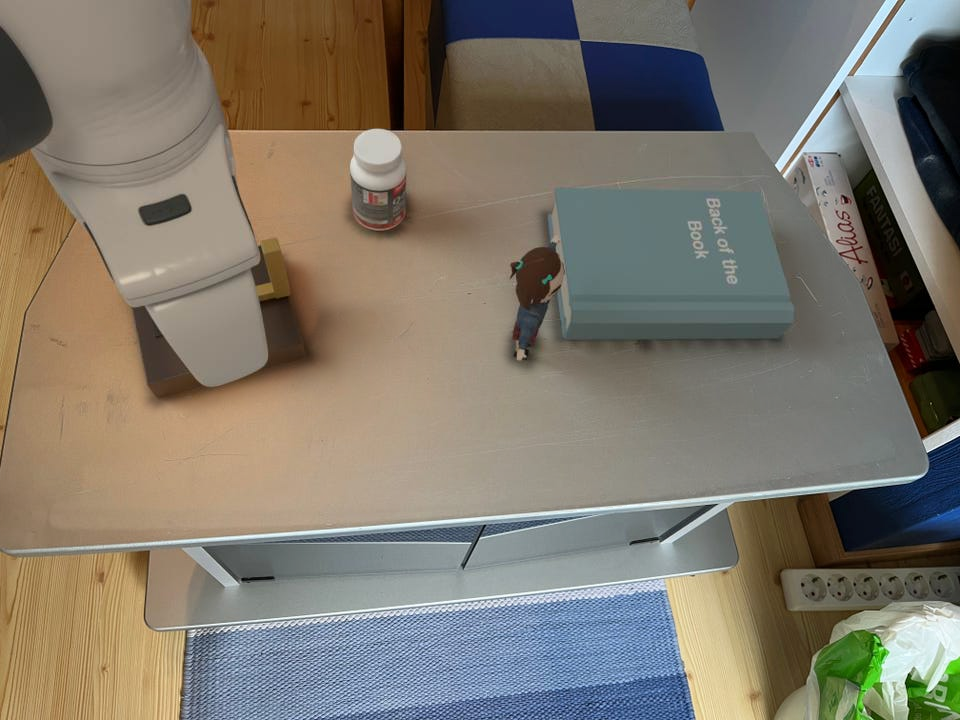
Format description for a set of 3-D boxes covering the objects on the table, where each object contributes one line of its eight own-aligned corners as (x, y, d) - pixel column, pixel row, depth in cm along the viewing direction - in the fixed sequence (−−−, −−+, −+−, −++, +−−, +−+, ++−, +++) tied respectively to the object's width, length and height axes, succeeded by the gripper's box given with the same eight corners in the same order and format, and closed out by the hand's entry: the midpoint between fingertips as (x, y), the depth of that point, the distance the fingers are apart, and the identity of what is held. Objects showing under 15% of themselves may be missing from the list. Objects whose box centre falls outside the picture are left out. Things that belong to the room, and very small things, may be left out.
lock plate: (156, 398, 68) (146, 383, 66) (134, 293, 73) (124, 275, 70) (306, 357, 72) (302, 341, 69) (276, 259, 77) (271, 241, 74)
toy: (520, 412, 71) (548, 336, 58) (473, 398, 72) (491, 318, 58) (553, 297, 78) (586, 204, 65) (510, 284, 78) (534, 189, 65)
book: (740, 220, 86) (759, 191, 81) (774, 342, 78) (797, 318, 74) (547, 217, 83) (555, 187, 78) (563, 343, 76) (574, 318, 71)
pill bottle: (404, 234, 80) (406, 170, 71) (351, 231, 79) (346, 167, 71) (406, 192, 83) (407, 126, 74) (354, 189, 82) (349, 122, 73)
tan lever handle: (201, 323, 69) (181, 279, 62) (195, 300, 70) (175, 254, 64) (292, 299, 71) (282, 255, 65) (286, 278, 72) (275, 231, 66)
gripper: (16, 20, 39) (106, 192, 52) (130, 321, 32) (204, 439, 44) (136, -8, 41) (196, 164, 54) (270, 271, 34) (304, 397, 46)
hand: (200, 290), depth 49 cm, fingers open, 8 cm apart
